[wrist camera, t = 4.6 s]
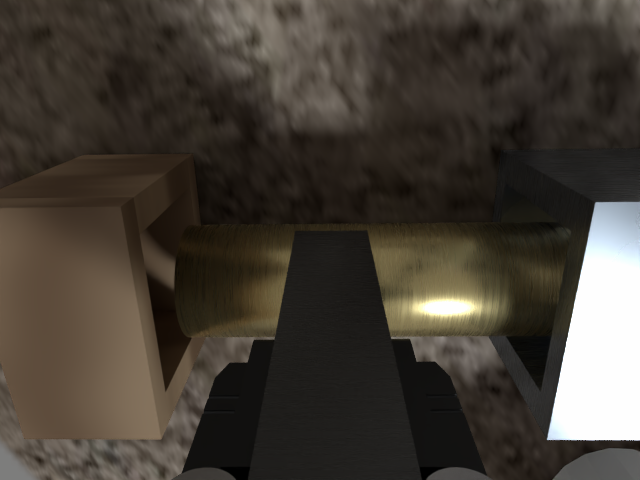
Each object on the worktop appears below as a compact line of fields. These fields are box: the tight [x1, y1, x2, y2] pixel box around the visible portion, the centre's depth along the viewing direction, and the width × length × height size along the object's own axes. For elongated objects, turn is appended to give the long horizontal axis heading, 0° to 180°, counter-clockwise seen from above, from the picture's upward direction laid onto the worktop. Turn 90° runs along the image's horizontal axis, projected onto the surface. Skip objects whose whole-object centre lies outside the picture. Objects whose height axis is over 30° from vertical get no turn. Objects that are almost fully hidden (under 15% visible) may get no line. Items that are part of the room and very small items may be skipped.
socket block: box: [0, 154, 206, 439], centre depth 15 cm, size 4×7×6 cm, turn 1°
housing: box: [489, 148, 640, 440], centre depth 15 cm, size 7×7×6 cm
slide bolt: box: [174, 222, 571, 480], centre depth 12 cm, size 13×4×12 cm, turn 91°
